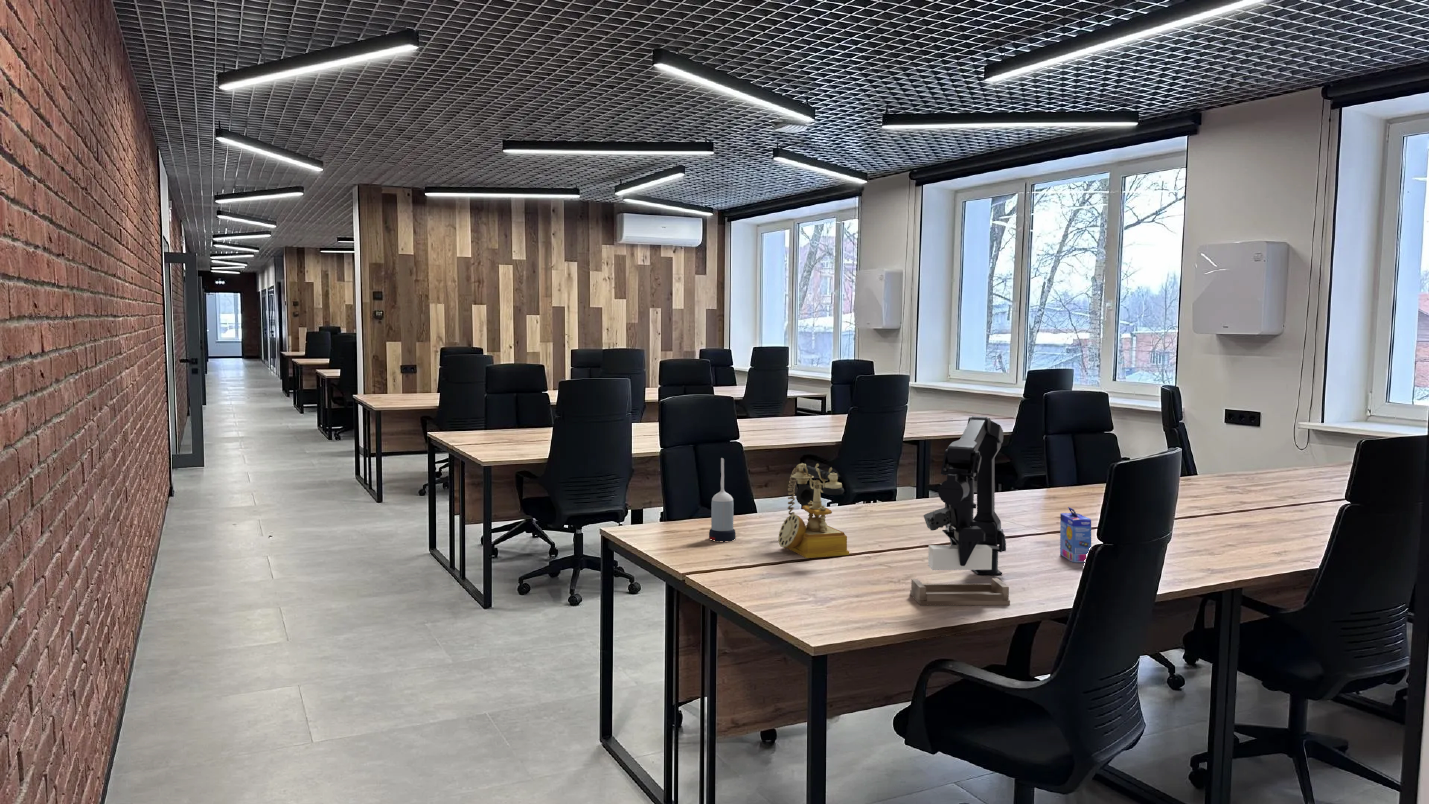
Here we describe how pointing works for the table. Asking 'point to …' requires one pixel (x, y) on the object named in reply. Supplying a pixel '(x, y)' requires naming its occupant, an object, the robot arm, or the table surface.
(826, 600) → the table surface
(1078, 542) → the ink cartridge box
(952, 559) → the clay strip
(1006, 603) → the tray
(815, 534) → the rotary telephone
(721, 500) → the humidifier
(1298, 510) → the table surface
